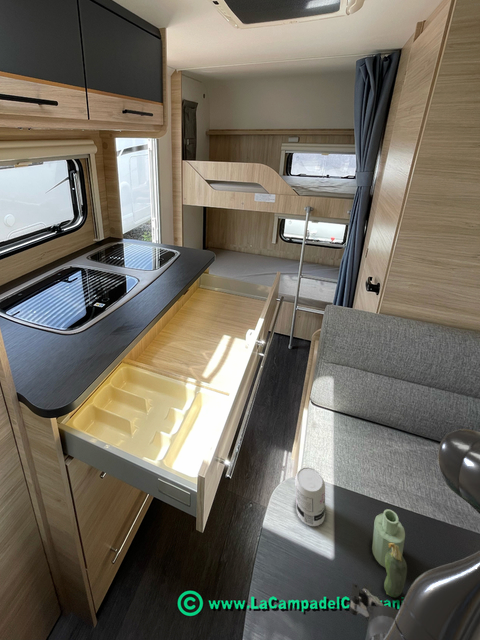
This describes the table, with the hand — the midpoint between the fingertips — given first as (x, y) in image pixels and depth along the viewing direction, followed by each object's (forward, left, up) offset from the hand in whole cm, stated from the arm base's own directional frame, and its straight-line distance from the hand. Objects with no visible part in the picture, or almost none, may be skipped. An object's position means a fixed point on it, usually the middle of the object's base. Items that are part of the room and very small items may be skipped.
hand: (393, 605), depth 63 cm
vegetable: (+2, -11, -21) cm, 24 cm away
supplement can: (+25, -17, -21) cm, 37 cm away
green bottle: (+5, -19, -21) cm, 29 cm away
